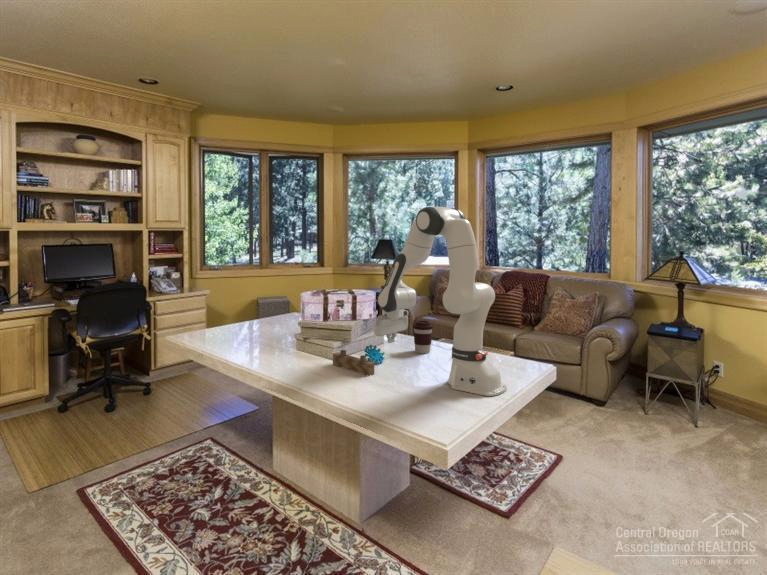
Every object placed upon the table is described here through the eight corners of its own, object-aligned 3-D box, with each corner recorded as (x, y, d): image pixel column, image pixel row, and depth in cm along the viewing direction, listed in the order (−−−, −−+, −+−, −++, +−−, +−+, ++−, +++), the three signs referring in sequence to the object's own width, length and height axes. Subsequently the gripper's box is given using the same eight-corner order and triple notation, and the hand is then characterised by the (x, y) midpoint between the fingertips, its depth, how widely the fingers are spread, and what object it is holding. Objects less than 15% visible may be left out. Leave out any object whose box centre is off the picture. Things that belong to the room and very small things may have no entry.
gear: (370, 363, 193) (362, 343, 198) (363, 370, 196) (356, 351, 201) (389, 362, 200) (382, 343, 205) (383, 369, 203) (375, 350, 208)
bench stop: (374, 374, 183) (374, 357, 182) (369, 376, 181) (369, 359, 180) (337, 363, 198) (337, 347, 197) (332, 364, 195) (332, 349, 194)
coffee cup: (408, 352, 217) (409, 322, 215) (418, 348, 225) (418, 318, 224) (427, 355, 212) (427, 324, 210) (436, 351, 220) (436, 321, 218)
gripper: (381, 317, 195) (381, 347, 197) (410, 311, 211) (409, 339, 212) (371, 314, 200) (370, 345, 201) (400, 309, 215) (399, 337, 217)
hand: (391, 342), depth 207 cm, fingers closed
